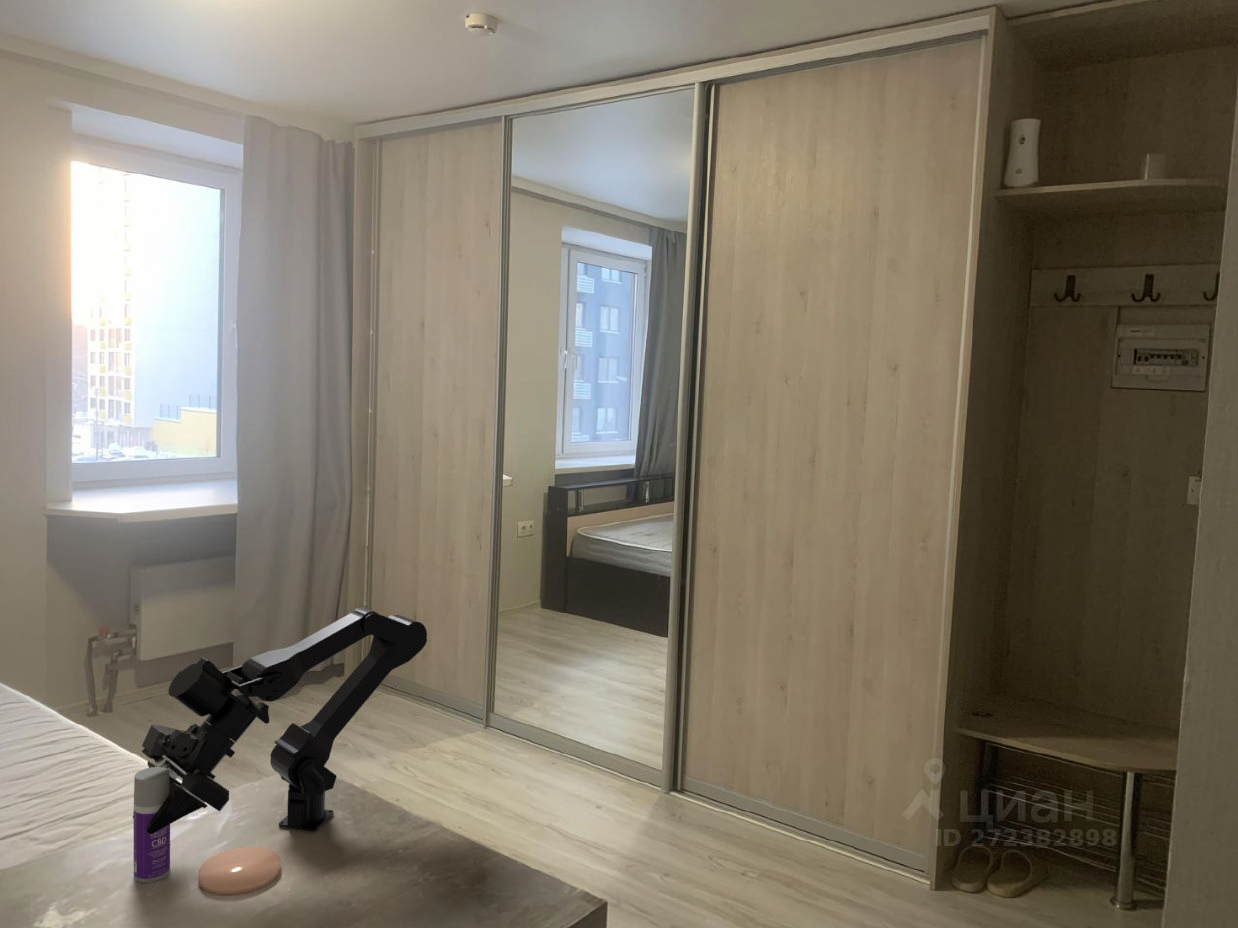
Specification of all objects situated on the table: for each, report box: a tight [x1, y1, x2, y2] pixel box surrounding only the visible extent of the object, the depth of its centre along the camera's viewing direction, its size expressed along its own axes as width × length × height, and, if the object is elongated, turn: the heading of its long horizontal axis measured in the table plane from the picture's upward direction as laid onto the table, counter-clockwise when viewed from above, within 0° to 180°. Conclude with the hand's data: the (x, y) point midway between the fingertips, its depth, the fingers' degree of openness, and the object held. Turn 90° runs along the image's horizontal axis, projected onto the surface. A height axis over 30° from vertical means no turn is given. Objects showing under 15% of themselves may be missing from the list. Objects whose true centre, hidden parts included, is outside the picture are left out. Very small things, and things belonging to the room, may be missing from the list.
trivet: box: [197, 846, 281, 896], centre depth 132 cm, size 11×11×1 cm
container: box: [133, 767, 171, 883], centre depth 130 cm, size 5×5×15 cm
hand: (141, 825), depth 129 cm, fingers closed on container, 5 cm apart
